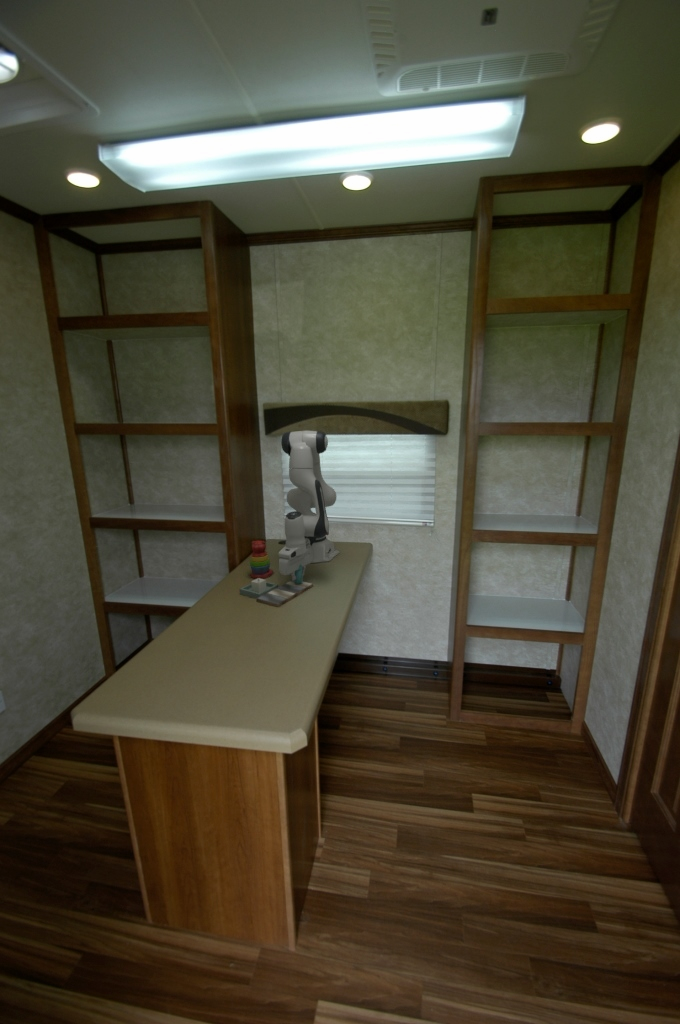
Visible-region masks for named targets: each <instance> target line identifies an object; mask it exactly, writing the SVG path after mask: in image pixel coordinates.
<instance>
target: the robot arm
mask: <svg viewBox="0 0 680 1024" xmlns="http://www.w3.org/2000/svg"><path fill="white" fill-rule="evenodd" d="M328 443H329V440H328V437H327V433H325V431H322V430H306V429H304V430H299V431H291V430H290V431H287V432H284V433H283V434H282V435H281V440H280V445H281V449H282V451H283V452H284V453H285V454H287V455H288V457H289V461H288V462H289V463H288V477H289V481H290V482H291V484H293V486H294V487H295V488H291V489H289V490H288V493H287V495H286V502H287V504H288V506H289V507H290V508H292V509H293V510H294V511H290V512H288V513H286V515H285V517H284V535H285V538H286V540H285V545H284V546H283V548H282V549H281V550H279V552H278V557H279V559H278V568H279V569H278V570H279V573H280V574H281V575H282V576H289V575H290V576H291V580H296V579H297V576H296V575H295V574H294V573H295V571H296V570H298V569H299V566H300V565H302V576H303V577H304V575H305V571H306V567H307V565H309V564H311V563H313V564H315V563H316V564H317V563H323V562H325V563H326V562H330V561H331V560H332V559H334V558H335V557H336V556H338V554H340V551H339V550H338V549H335V543H334V542H333V541H331V540H330V539H328V538H327V536H329V534H330V522H329V519H328V515H327V509H326V508H327V507H332V506H334V504H335V503H336V501H337V493H336V491H335V489H334V488H333V487H332V486H330V485H329V484H328V483H327V482H326V481H325V479H324V477H323V474H322V469H321V468H322V467H321V457H320V454H323V453H325V452H326V451H327V448H328ZM312 509H315V512H313V511H312Z"/></svg>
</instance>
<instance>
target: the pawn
mask: <svg viewBox="0 0 680 1024" xmlns="http://www.w3.org/2000/svg"><path fill="white" fill-rule="evenodd" d="M294 574H295V575H296V576H297V579H296V580H294V583H296V584H299V583H302V582H304V581H303V580H304V579H303V578H304V575H303V576H302V565H300V566H299V569H298V570H296V571H295V573H294Z"/></svg>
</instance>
